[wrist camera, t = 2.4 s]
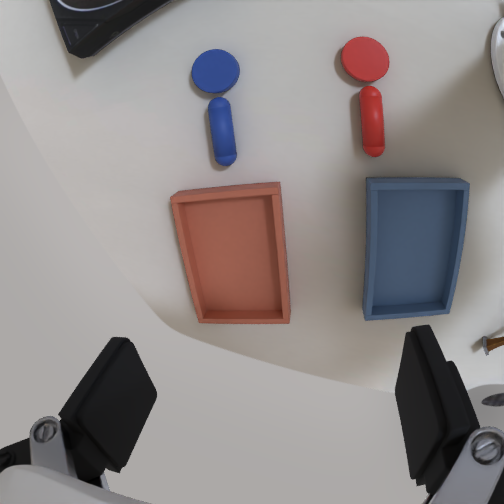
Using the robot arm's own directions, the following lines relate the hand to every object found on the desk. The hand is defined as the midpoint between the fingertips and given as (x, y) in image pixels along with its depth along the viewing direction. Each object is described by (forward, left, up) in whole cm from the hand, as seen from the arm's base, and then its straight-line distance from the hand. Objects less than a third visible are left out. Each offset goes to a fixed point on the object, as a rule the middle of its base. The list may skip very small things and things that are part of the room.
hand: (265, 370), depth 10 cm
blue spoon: (-9, -5, -19) cm, 22 cm away
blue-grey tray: (+5, +11, -19) cm, 22 cm away
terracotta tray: (+5, -5, -19) cm, 20 cm away
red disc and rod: (-9, +7, -19) cm, 22 cm away
